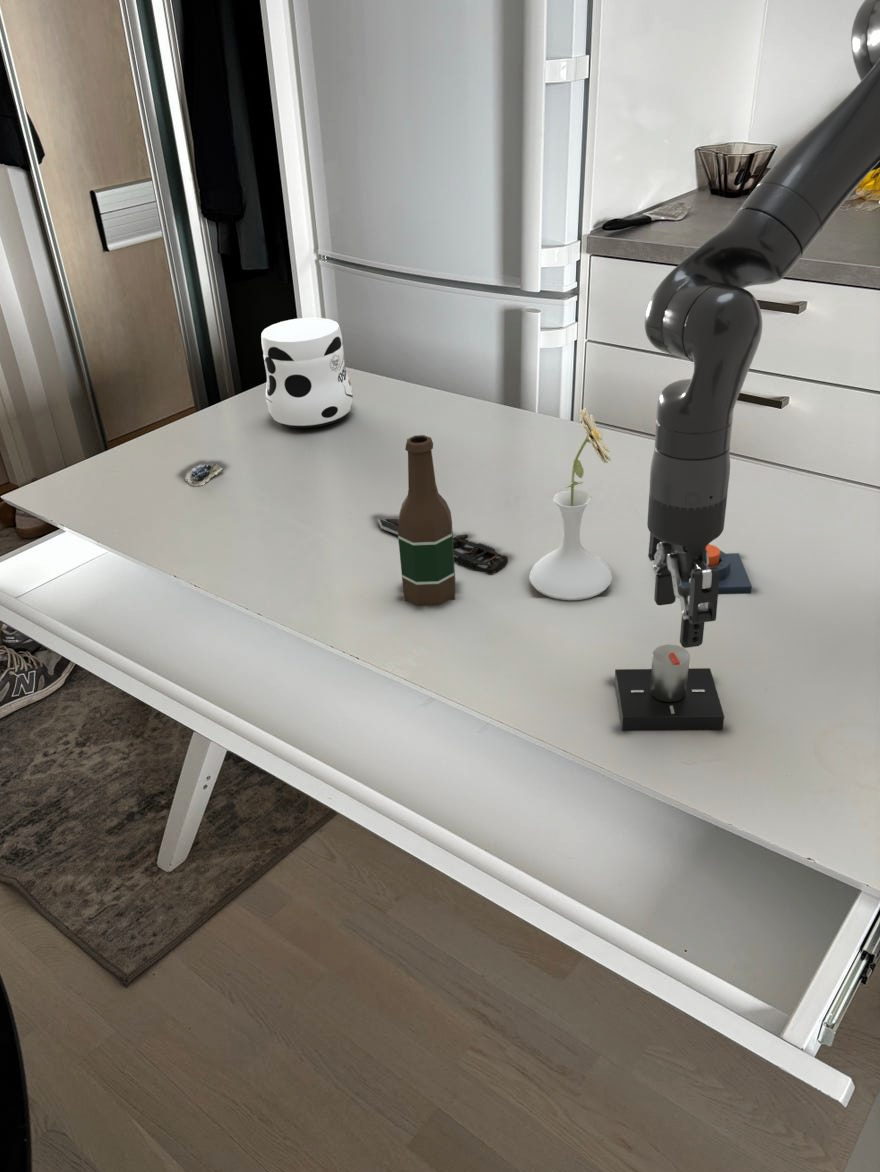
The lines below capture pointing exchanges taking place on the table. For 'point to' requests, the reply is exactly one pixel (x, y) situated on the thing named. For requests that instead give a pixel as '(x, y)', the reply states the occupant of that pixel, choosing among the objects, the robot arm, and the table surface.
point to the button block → (731, 575)
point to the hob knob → (669, 673)
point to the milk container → (306, 373)
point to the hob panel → (667, 703)
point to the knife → (460, 542)
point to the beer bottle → (425, 532)
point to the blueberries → (202, 474)
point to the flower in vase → (574, 538)
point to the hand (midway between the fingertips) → (677, 623)
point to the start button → (713, 555)
